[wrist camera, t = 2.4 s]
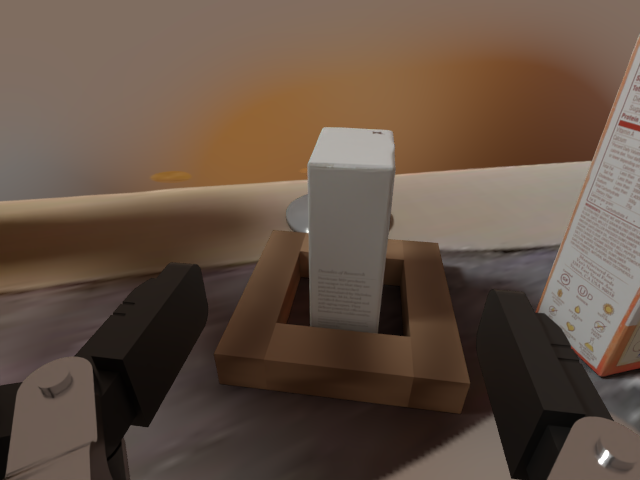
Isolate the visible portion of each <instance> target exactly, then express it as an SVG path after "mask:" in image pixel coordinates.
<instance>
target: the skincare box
mask: <svg viewBox="0 0 640 480" xmlns="http://www.w3.org/2000/svg"><path fill="white" fill-rule="evenodd" d="M394 151H395V144H394V138H393V132H392V131H389V130H374V129H356V128H327V127H325V128H323V129H322V131H321V134H320V136H319V138H318V141H317V143H316V145H315V148H314V151H313V153H312V155H311V158H310V160H309V162H308V228H309V291H310V327H320V328H329V329H339V330H348V331H358V332H367V333H377V334H378V326H379V317H380V307H381V298H382V288H383V279H384V271H385V262H386V252H387V244H388V235H389V226H390V216H391V206H392V196H393V187H394V177H395V155H394Z"/></svg>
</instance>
